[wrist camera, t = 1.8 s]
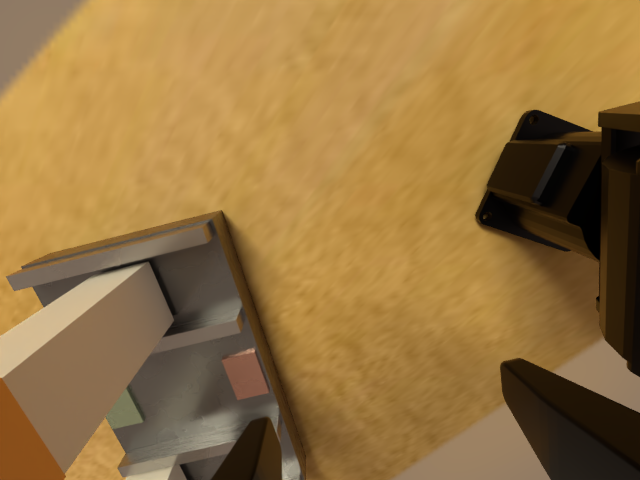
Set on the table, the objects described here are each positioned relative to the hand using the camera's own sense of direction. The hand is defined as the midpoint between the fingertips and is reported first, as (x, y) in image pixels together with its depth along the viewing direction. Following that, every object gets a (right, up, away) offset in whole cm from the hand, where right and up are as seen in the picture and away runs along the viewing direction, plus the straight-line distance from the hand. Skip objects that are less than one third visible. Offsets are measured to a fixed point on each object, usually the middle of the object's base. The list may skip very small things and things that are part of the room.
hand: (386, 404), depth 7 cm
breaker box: (-10, -5, +15) cm, 18 cm away
